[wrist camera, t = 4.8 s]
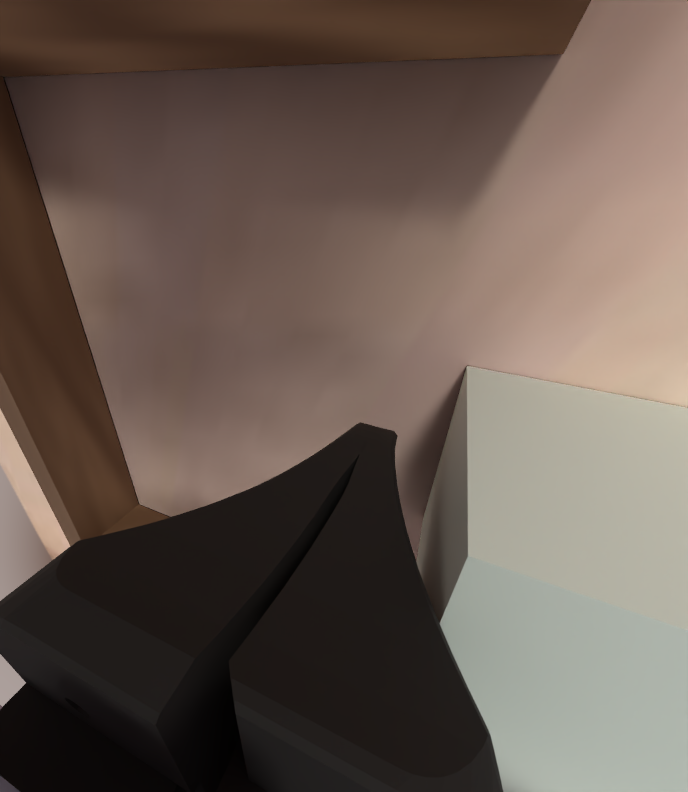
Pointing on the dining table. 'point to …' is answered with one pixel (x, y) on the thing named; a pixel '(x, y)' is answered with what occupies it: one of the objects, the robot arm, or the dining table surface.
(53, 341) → the wooden frame
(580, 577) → the cube
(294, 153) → the dining table surface
